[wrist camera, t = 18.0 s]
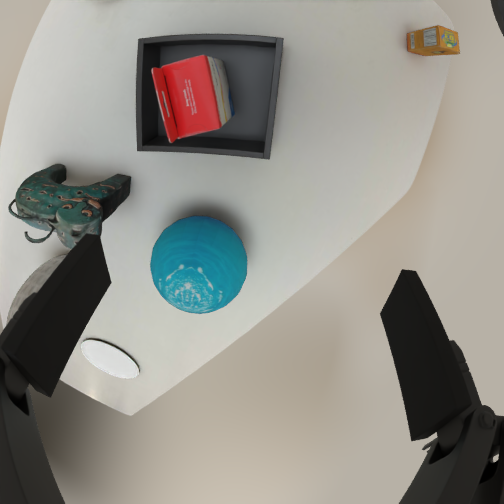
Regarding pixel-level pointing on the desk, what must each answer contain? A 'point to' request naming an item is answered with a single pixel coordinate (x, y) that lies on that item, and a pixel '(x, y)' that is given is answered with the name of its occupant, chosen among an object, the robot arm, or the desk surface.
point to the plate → (109, 359)
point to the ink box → (193, 96)
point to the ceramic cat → (67, 204)
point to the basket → (240, 84)
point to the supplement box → (433, 41)
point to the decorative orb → (198, 264)
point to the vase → (34, 283)
